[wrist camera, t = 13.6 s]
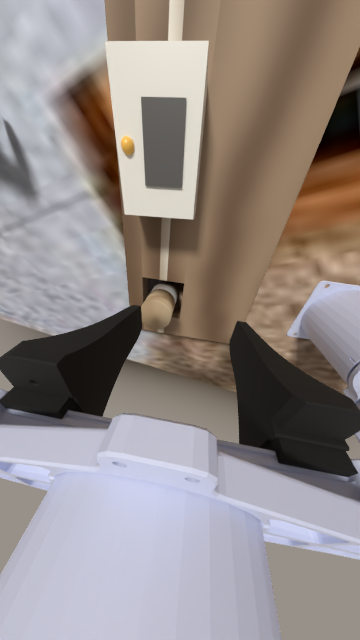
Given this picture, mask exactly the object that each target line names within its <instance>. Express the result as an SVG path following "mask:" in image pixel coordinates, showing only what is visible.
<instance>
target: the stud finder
mask: <svg viewBox="0 0 360 640" xmlns="http://www.w3.org/2000/svg"><path fill="white" fill-rule="evenodd" d="M105 47H106V55H107V64H108V73H109V82H110V91H111V99H112V108H113V117H114V126H115V134H116V143H117V152H118V161H119V169H120V178H121V187H122V196H123V204H124V213H125V215H138V216H151V217H165V218H178V219H192V220H193V219H195V214H196V203H197V193H198V182H199V172H200V161H201V150H202V140H203V129H204V118H205V108H206V97H207V87H208V56H209V41H105Z"/></svg>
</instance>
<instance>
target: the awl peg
mask: <svg viewBox="0 0 360 640" xmlns="http://www.w3.org/2000/svg"><path fill="white" fill-rule="evenodd" d="M178 294H179V290H178V287H177V285H176V284H175V283H174V282H171V281H165V280H160V281H159V282H157V283H156V285H155V286H154V288H153V289H152V291H151V292H150V294H149V295H148V297H147V298H146V300H145V301H144V303H143V304H142V306H141V312H142V322H143V323H144V324H145V325H146V326H148V327H150V328H153V329H162V328H165V327H166V326H167V325H168V324H169V323H170V320H171V317H172V314H173V310H174V307H175V304H176V301H177V298H178Z"/></svg>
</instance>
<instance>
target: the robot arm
mask: <svg viewBox="0 0 360 640" xmlns="http://www.w3.org/2000/svg"><path fill="white" fill-rule="evenodd" d="M326 284H329V287H328V288H324V286H325V285H326ZM141 330H142V312H141V306H138V305H132V306H130V307H128V308H126V309H124V310H122V311H120V312H119V313H117V314H115V315H113V316H111V317H109V318H107V319H104V320H102V321H100V322H98V323H95V324H93V325H90V326H87V327H85V328H81V329H78V330H75V331H71V332H68V333H64V334H60V335H55V336H51V337H46V338H40V339H34V340H28V341H22V342H21V343H20V344H18V345H17V346H15V347H14V348H13V349H11V350H10V351H8V352H7V353H5V354H4V355H3V356H1V357H0V370H1V372H2V373H3V374H4V375H5V376H6V378H7V379H8V380H9V381H10V382H11V383H12V385H13V386H14V387H13V388H12V389H11V390H10V391H9V392H7V391H5V390H3V389H0V478H3V479H7V480H11V481H14V482H18V483H21V484H25V485H29V486H32V487H36V488H39V489H43V490H47V491H48V492H47V494H46V496H45V497H44V499H43V501H42V503H41V504H40V506H39V508H38V510H37V511H36V513H35V515H34V517H33V518H32V520H31V522H30V524H29V525H28V527H27V529H26V531H25V532H24V534H23V536H22V538H21V539H20V541H19V543H18V545H17V546H16V548H15V550H14V552H13V554H12V555H11V557H10V559H9V561H8V562H7V564H6V566H5V568H4V570H3V571H2V573H1V575H0V640H282V639H281V634H280V628H279V623H278V617H277V611H276V606H275V599H274V594H273V588H272V582H271V577H270V571H269V565H268V560H267V554H266V548H265V543H264V541H266V542H272V543H277V544H282V545H288V546H293V547H299V548H303V549H309V550H314V551H319V552H324V553H329V554H334V555H339V556H345V557H349V558H354V559H359V560H360V459H351V460H350V458H349V456H348V454H347V453H346V451H348V450H349V446H348V445H347V443H346V442H345V439H347V438H349V437H350V436H352V435H355V436H356V438H357V439H358V441H359V442H360V286H357V285H350V284H343V283H336V282H329V281H321V282H320V283H318V285H317V286H316V288H315V289H314V291H313V292H312V294H311V296H310V297H309V299H308V300H307V302H306V304H305V305H304V307H303V308H302V310H301V312H300V313H299V315H298V316H297V318H296V320H295V321H294V323H293V324H292V326H291V327H290V329H289V331H288V332H287V335H288V336H291V337H297V338H304V339H310V340H311V341H312V342H313V344H314V345H315V346H316V347H317V348H318V350H319V351H320V352H321V353H322V355H323V356H324V357H325V358H326V359H327V361H328V362H329V363H330V364H331V365H332V367H333V368H334V369H335V370H336V371H337V373H338V374H339V375H340V376H341V378H342V379H343V380H344V381H345V382H346V384H347V385H348V387H347V388H346V389H345V390H344V391H343V392H344V394H345V395H346V396H345V395H343V394H341V393H340V392H338V391H336V390H334V389H332V388H330V387H328V386H326V385H324V384H323V383H321V382H319V381H317V380H316V379H314V378H312V377H311V376H309V375H307V374H306V373H304V372H303V371H301V370H300V369H298V368H297V367H295V366H294V365H292V364H291V363H290V362H288V361H287V360H286V359H284V358H283V357H282V356H281V355H279V354H278V353H277V352H276V351H274V350H273V349H272V348H271V347H270V346H269V345H268V344H267V343H266V342H265V341H264V340H263V339H262V338H261V337H260V336H259V335H258V334H257V333H256V332H255V331H254V330H253V329H252V328H251V327H250V326H249V325H248V324H247V323H246V322H242V321H237V322H236V325H235V328H234V330H233V333H232V336H231V339H230V341H229V344H230V356H231V361H232V366H233V371H234V376H235V381H236V389H237V399H238V414H239V415H238V416H239V444H236V443H231V442H226V441H221V440H216V437H215V436H214V435H213V434H212V433H211V432H210V431H208V430H207V429H205V428H202V427H198V426H195V425H191V424H186V423H181V422H175V421H170V420H165V419H160V418H154V417H150V416H145V415H139V414H132V413H123V414H120V415H117V416H115V417H113V419H111V418H106V417H102V416H103V413H104V410H105V407H106V405H107V402H108V400H109V397H110V394H111V392H112V389H113V387H114V384H115V382H116V379H117V377H118V375H119V373H120V370H121V368H122V366H123V364H124V362H125V360H126V358H127V357H128V355H129V353H130V351H131V350H132V348H133V346H134V344H135V343H136V341H137V339H138V337H139V335H140V332H141ZM293 333H297V334H296V335H293Z"/></svg>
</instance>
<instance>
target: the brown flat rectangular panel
mask: <svg viewBox="0 0 360 640" xmlns="http://www.w3.org/2000/svg"><path fill="white" fill-rule="evenodd" d="M105 12H106V24H107V36H108V41H209V56H208V87H207V97H206V108H205V118H204V129H203V140H202V150H201V161H200V172H199V182H198V193H197V203H196V214H195V219H193V220H192V219H178V218H165V217H151V216H138V215H125V213H124V204H123V196H122V187H121V178H120V169H119V161H118V170H119V182H120V194H121V207H122V219H123V231H124V243H125V255H126V267H127V280H128V292H129V304H130V306H132V305H138V306H142V304H143V303H144V301H145V300H146V298H147V297H148V295H149V278H152V279H158V280H165V281H171V282H178V283H184V289H183V297H182V305H181V308H175V307H174V310H173V314H172V317H171V320H170V323H169V324H168V325H167V326H166V327H165V328H162V329H153V328H150V327H148V326H146V325H145V324H144V323H143V322H142V330H148V331H154V332H160V333H166V334H172V335H178V336H184V337H191V338H197V339H203V340H209V341H215V342H221V343H227V344H229V341H230V339H231V336H232V333H233V330H234V328H235V325H236V322H237V321H242V322H245V321H246V319H247V316H248V314H249V311H250V309H251V307H252V304H253V302H254V299H255V297H256V295H257V292H258V290H259V287H260V285H261V283H262V280H263V278H264V275H265V273H266V271H267V268H268V266H269V263H270V261H271V259H272V256H273V254H274V251H275V249H276V247H277V244H278V242H279V239H280V237H281V235H282V232H283V230H284V227H285V225H286V223H287V220H288V218H289V215H290V213H291V210H292V208H293V206H294V203H295V201H296V198H297V196H298V194H299V191H300V189H301V186H302V184H303V182H304V179H305V177H306V174H307V172H308V170H309V167H310V165H311V162H312V160H313V158H314V155H315V153H316V150H317V148H318V146H319V143H320V141H321V138H322V136H323V134H324V131H325V129H326V126H327V124H328V122H329V119H330V117H331V114H332V112H333V110H334V107H335V105H336V102H337V100H338V97H339V95H340V93H341V90H342V88H343V85H344V83H345V81H346V78H347V76H348V73H349V71H350V69H351V66H352V64H353V61H354V59H355V57H356V54H357V52H358V49H359V47H360V0H105ZM116 146H117V143H116ZM117 158H118V152H117Z"/></svg>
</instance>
